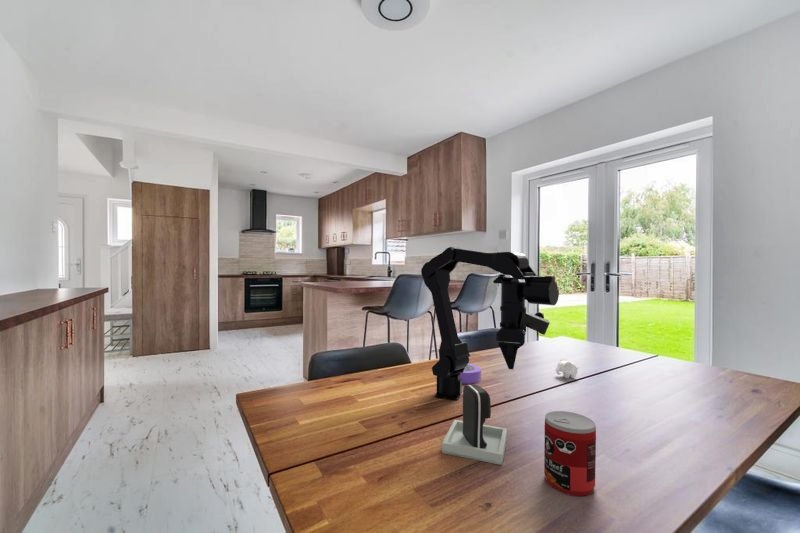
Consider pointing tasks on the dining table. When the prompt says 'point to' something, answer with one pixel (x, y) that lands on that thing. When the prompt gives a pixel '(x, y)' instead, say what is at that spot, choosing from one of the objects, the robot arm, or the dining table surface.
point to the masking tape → (471, 374)
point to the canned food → (570, 452)
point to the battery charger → (475, 414)
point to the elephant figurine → (566, 368)
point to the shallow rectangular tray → (462, 448)
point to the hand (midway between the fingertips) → (512, 364)
